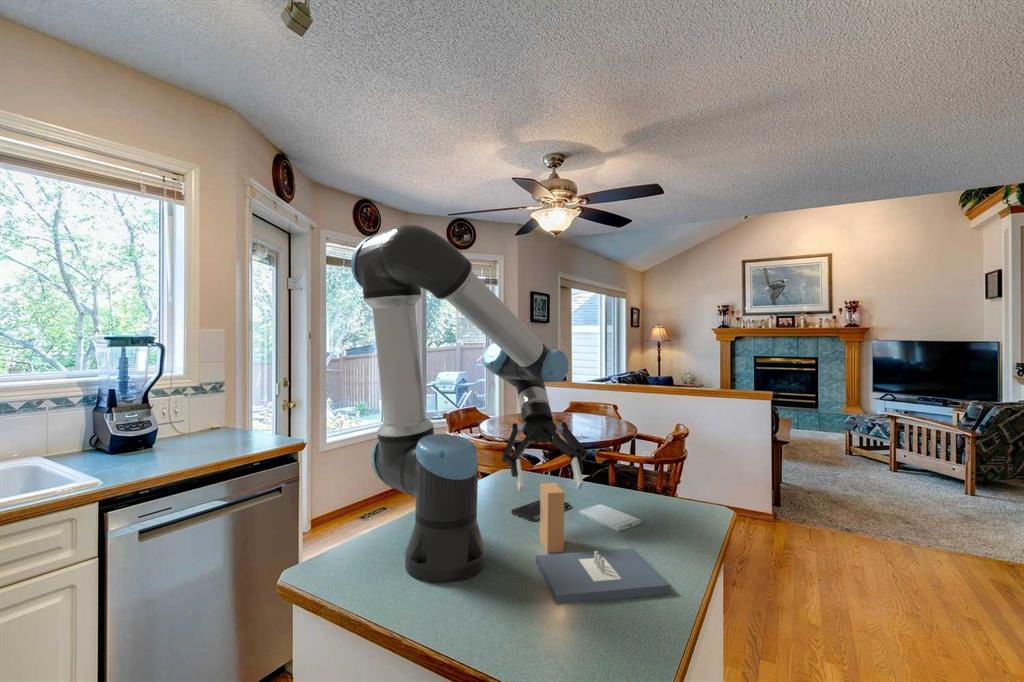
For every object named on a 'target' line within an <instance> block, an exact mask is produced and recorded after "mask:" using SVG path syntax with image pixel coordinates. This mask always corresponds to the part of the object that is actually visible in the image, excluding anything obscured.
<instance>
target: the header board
mask: <svg viewBox="0 0 1024 682" xmlns="http://www.w3.org/2000/svg"><path fill="white" fill-rule="evenodd" d="M535 564H536V567H537V568H538V570H539V572H540V575H541V576H542V578H543V580H544V582H545V584H546V587H547V588H548V591H549V593H550V594H551V596H552V598H553V600H554V603H555V604H556V605H557V606H558V605H568V604H578V603H587V602H588V603H589V602H601V601H607V600H608V601H609V599H610V600H618V599H628V598H629V599H630V598H639V597H640V598H641V597H651V596H663V595H670V594H671V583H669V582H668V580H666V578H665V577H663V576H662V575H661V574H660V573H659V571H657V570H656V569H655V568H654V567H653V566H652V565H651V564H650V563H649V562H648V561H647V560H646V559H645V558H644V557H643V556H642V555H641V554H640V553H639V552H638V551H637V550H636V549H635V548H634V547H632V548H631V547H630V548H618V549H617V548H616V549H605V550H603V549H602V550H590V551H577V552H568V553H567V552H561V553H551V554H550V553H547V554H540V555H539V554H537V555H535Z"/></svg>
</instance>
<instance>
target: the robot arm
mask: <svg viewBox="0 0 1024 682" xmlns="http://www.w3.org/2000/svg"><path fill="white" fill-rule="evenodd" d="M350 269H351V273H352V276H353V279H354V280H355V281H356V283H357V284H358V285H359V286H360V287H361V288H362V295H363V296H362V297H363V301H364V302H365V304H367V305H368V306H370V307H371V309H372V315H373V317H372V318H373V325H374V335H375V346H376V357H377V358H376V359H377V366H378V376H379V385H380V386H379V387H380V388H379V389H380V396H381V405H382V416H383V423H382V424H381V425H380V427H378V429H377V430H376V431H377V440H376V443H375V445H373V448H372V450H371V457H370V462H371V467H372V469H373V470H372V471H373V472H374V474H375V476H376V477H377V478H378V479H379V480H380V481H381V482H383V484H385V485H386V486H388V487H390V488H391V489H394V490H398V491H400V492H402V493H404V494H406V495H408V496H411V497H413V498H415V520H414V521H415V522H414V526H413V529H412V532H411V535H410V538H409V540H408V544H407V547H406V551H405V555H404V559H405V561H404V562H405V563H404V567H405V570H406V571H407V573H408V574H409V575H411V576H412V577H414V578H416V579H418V580H421V581H424V582H429V583H430V582H431V583H450V582H451V583H452V582H457V581H461V580H465V579H467V578H470V577H472V576H474V575H476V574H478V573H479V572H480V571H481V570H482V569H484V566H485V564H486V546H485V543H484V540H483V536H482V533H481V530H480V527H479V523H478V520H477V519H478V518H477V517H478V515H477V513H478V511H477V510H478V486H479V484H478V483H479V482H478V481H479V459H478V450H477V447H476V444H475V443H474V442H472V441H471V440H470V439H468V438H466V437H463V436H460V435H455V434H454V435H450V434H447V433H435V430H434V423H433V422H432V421H431V420H430V419H429V418H427V417H426V411H425V400H424V389H423V379H422V370H421V369H422V367H421V366H422V365H421V358H420V357H421V356H420V348H419V347H420V345H419V337H418V335H419V334H418V326H417V315H416V314H417V313H416V305H417V303H418V302H419V301H420V299H421V298H422V289H423V290H426V291H427V292H429V293H430V294H431V295H433V296H434V297H435V298H436V299H437V300H446V301H447V302H448V303H449V304H450V305H451V306H453V307H454V308H455V309H456V310H457V311H458V312H460V314H462V315H463V316H464V317H465V318H466V319H467V320H468V321H469V322H471V324H473V325H474V326H475V327H476V328H477V329H479V331H480V332H482V333H483V334H484V335H485V336H486V337H487V338H488V339H489V340H490V341H491V342H493V343H491V344H489V345H488V347H486V349H485V351H484V353H483V356H482V363H483V366H484V367H485V368H486V369H487V370H488V371H490V373H492V374H494V375H496V376H498V377H499V378H500V379H502V380H504V381H505V382H507V383H508V384H510V385H511V386H512V387H515V388H516V390H517V391H516V393H517V398H518V403H519V408H520V415H521V421H522V425H518V423H516V422H514V423H512V425H511V430H510V436H509V438H508V441H507V443H506V446H505V448H504V451H503V453H502V456H501V460H500V461H501V462H502V463H503V464H505V463H508V466H509V467H510V473H511V476H512V478H513V477H514V478H515V479H516V484H517V490H518V491H517V492H518V493H522V492H523V489H524V486H525V485H524V480H523V479H524V478H523V473H522V472H523V471H522V466H521V460H520V459H519V458H520V457H521V456H522V454H523V453H524V451H526V449H527V448H528V447H529V445H530V444H531V442H533V443H534V444H548V443H550V444H551V446H554V447H556V448H557V449H558V450H560V451H561V452H562V453H563V454H564V455H565V456H566V457H568V458H569V459H571V462H570V464H571V468H572V469H571V470H572V473H573V474H572V475H573V477H574V481H575V484H576V489H577V490H580V489H582V486H583V485H584V480H583V476H582V473H583V471H584V465H583V462H582V461H583V460H584V461H585V459H586V457H587V455H588V450H587V449H586V448H585V447H584V446H583V445H582V443H581V442H580V441H579V439H577V438H576V436H575V435H574V434H573V432H572V431H571V430H570V429H569V426H568V423H566V421H563V422H562V423H561V424H555V422H554V419H553V414H552V410H551V406H550V400H549V397H548V393H547V389H546V384H545V383H547V384H548V383H560V382H562V381H563V380H564V379H565V378H566V376H567V373H568V372H569V371H568V370H569V367H570V366H569V365H570V364H569V359H568V357H567V354H566V353H565V352H564V351H562V350H560V349H555V348H551V349H550V348H548V347H547V346H546V345H545V344H544V343H543V342H542V340H540V339H539V338H538V337H537V335H535V334H534V333H533V331H531V330H530V328H528V326H526V325H525V323H524V322H522V320H520V319H519V317H518V316H517V315H515V313H514V312H513V310H511V309H510V308H509V307H508V306H507V305H506V304H505V303H504V302H503V301H502V300H501V298H499V297H498V296H497V295H496V294H495V293H494V292H493V291H492V290H491V289H490V288H489V287H488V286H487V285H486V284H485V283H484V282H483V281H482V280H481V279H480V278H479V277H478V276H477V275H476V273H474V271H473V264H472V262H471V261H470V260H469V259H468V258H467V257H466V256H465V255H464V254H463V253H462V252H461V251H460V250H459V249H458V248H457V247H455V246H454V245H453V244H452V243H450V242H449V241H448V240H446V239H445V238H443V236H441V235H439V234H438V233H436V232H434V231H432V230H431V229H429V228H427V227H424V226H421V225H417V224H404V225H400V226H396V227H395V228H392V229H389V230H386V231H383V232H379V233H377V232H376V233H374V234H372V235H370V236H368V237H366V238H365V239H364V240H362V241H361V242H360V243H359V244H358V245H357V246H356V247H355V249H354V251H353V253H352V256H351V259H350ZM521 432H522V433H523V435H525V437H524V439H523V440H522V441H521V443H520V444H519V445H518V447H517V448H516V449H515V451H513V452H512V454H511V451H512V449H513V446H514V443H515V441H516V439H517V436H519V435H520V433H521ZM557 432H558V433H557ZM560 435H561V436H560ZM561 437H562V438H561Z"/></svg>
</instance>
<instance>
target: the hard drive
mask: <svg viewBox="0 0 1024 682" xmlns="http://www.w3.org/2000/svg"><path fill="white" fill-rule="evenodd" d="M579 513H580V514H582V515H585V516H587V517H589V518H591V519H594V520H596V521H598V522H600V523H602V524H604V525H607V526H609V527H611V528H613V529H612V530H614V529H616V530H618V531H617V532H620V531H619V530H621V529H624V528H627V527H629V528H632V527H634V525H635V526H637V524H638V525H640V523H641V524H642V519H640V518H638V517H634V516H632V515H630V514H626V513H625V512H622V511H620V510H618V509H617V510H616V509H614V508H612V507H608V506H607V505H604V504H597V505H592V506H590V507H587V508H583V509H580V510H579V511H578V514H579ZM591 519H590V520H591ZM598 522H597V523H598ZM600 523H599V524H600ZM602 524H601V525H602ZM604 525H603V526H604ZM607 526H606V527H607ZM631 526H632V527H631ZM609 527H608V528H609ZM611 528H610V529H611ZM627 529H628V528H627ZM616 530H615V531H616ZM624 530H625V529H624ZM621 531H622V530H621Z"/></svg>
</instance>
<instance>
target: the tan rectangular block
mask: <svg viewBox="0 0 1024 682" xmlns="http://www.w3.org/2000/svg"><path fill="white" fill-rule="evenodd" d="M539 486H540V487H539V492H540V493H539V500H540V520H539V541H540V543H541V544H543V545H542V546H543V548H544V550H545V552H546V553H547V554H550V553H551V554H556V553H565V552H564V549H565V544H564V543H565V510H564V502H565V492H564V490H563V489H562V488H561V487H560V486H559V485H558V484H557V483H556V482H549V483H546V482H545V483H540V484H539Z"/></svg>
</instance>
